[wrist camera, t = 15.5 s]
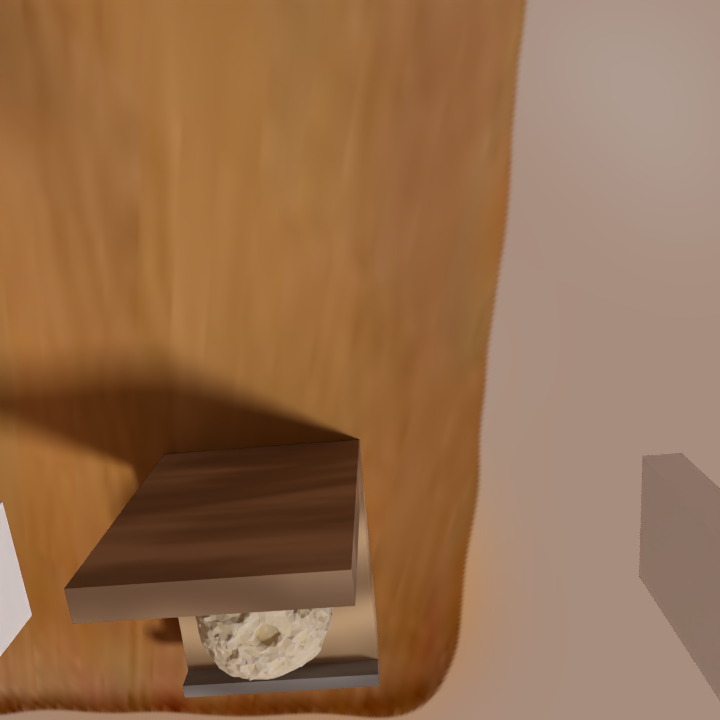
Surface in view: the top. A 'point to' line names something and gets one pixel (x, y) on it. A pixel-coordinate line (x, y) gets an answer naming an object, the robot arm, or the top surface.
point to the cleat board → (244, 557)
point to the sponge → (264, 640)
